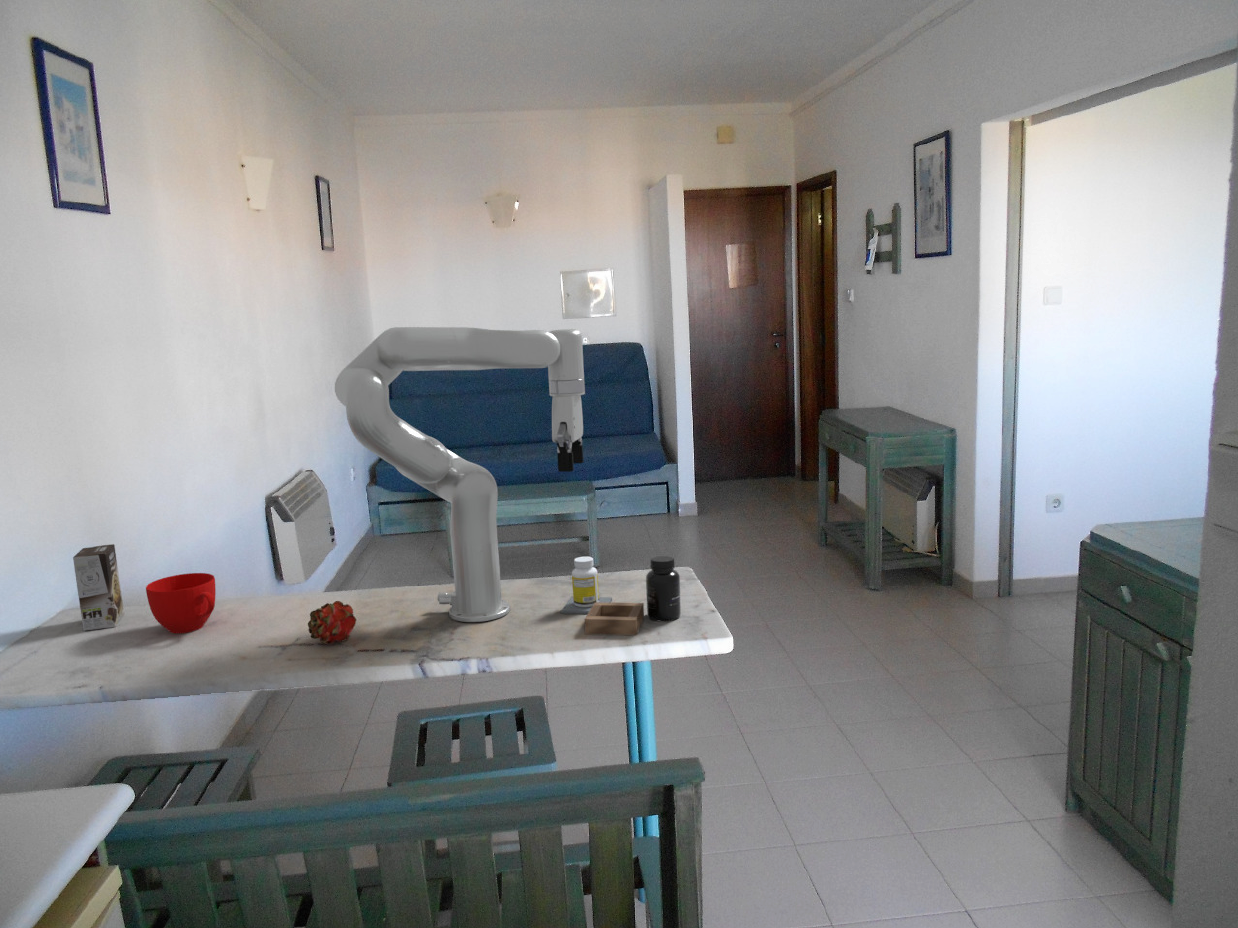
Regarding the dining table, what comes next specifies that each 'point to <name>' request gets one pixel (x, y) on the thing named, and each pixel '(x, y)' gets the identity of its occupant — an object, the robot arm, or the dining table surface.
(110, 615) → the coffee box
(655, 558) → the supplement bottle
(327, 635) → the dragon fruit
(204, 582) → the ceramic cup
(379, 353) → the robot arm
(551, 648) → the dining table surface
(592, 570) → the supplement bottle
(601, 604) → the walnut collar
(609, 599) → the slate mat
